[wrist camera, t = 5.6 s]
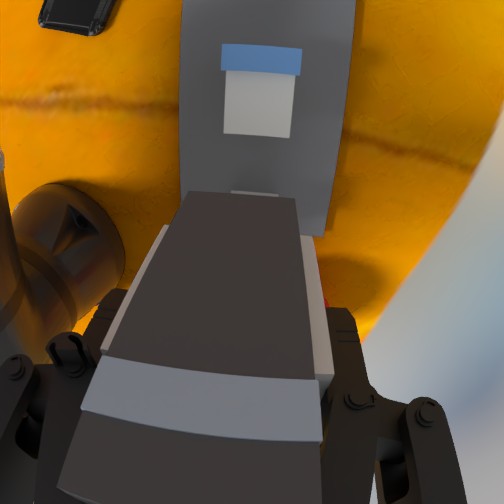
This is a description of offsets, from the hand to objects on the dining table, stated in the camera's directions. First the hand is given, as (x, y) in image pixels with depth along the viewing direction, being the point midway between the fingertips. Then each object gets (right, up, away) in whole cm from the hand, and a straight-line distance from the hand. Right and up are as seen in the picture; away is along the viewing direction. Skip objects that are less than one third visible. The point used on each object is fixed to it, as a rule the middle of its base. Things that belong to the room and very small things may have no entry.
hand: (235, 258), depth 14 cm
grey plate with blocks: (+1, +14, +9) cm, 17 cm away
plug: (0, +1, +1) cm, 1 cm away
